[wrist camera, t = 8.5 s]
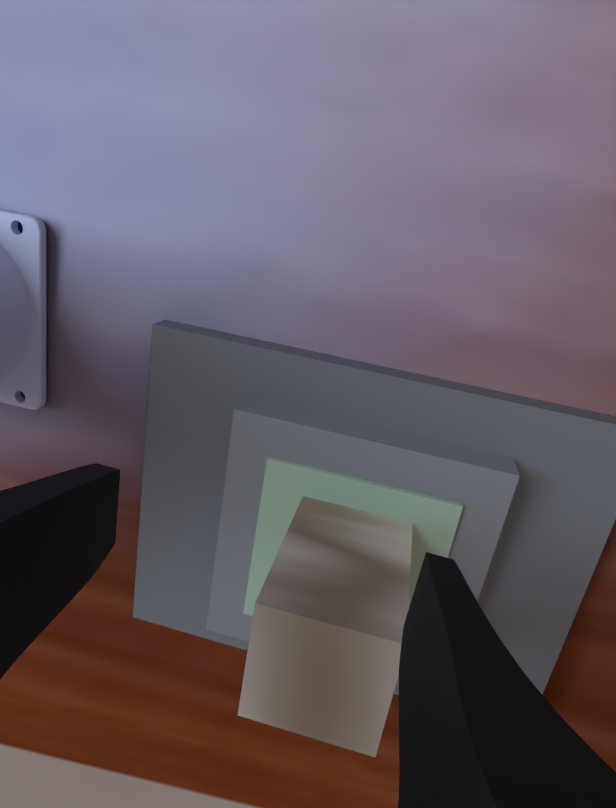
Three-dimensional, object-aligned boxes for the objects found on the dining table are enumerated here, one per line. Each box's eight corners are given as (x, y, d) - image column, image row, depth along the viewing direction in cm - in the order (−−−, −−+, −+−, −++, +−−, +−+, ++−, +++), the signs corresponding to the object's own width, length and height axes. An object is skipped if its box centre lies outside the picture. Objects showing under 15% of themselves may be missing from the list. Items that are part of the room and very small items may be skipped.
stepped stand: (142, 603, 27) (113, 643, 24) (164, 319, 22) (130, 333, 19) (522, 713, 24) (533, 770, 22) (641, 422, 19) (672, 452, 17)
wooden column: (286, 585, 21) (237, 715, 16) (303, 496, 20) (255, 602, 14) (388, 613, 21) (375, 757, 15) (412, 523, 19) (406, 645, 14)
